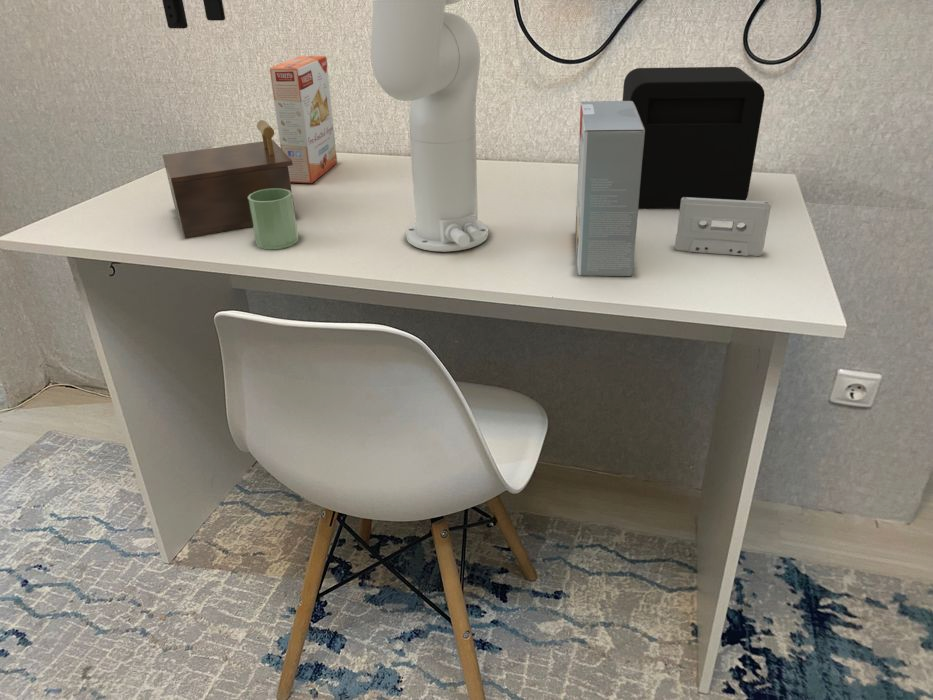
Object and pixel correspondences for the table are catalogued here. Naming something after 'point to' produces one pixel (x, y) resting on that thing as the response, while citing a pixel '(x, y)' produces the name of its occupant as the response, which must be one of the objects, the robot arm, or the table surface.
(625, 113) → the hard drive box
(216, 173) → the chest lid
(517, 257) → the table surface
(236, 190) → the chest
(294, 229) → the cup
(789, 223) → the table surface
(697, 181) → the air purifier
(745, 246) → the cassette
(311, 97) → the cracker box
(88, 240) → the table surface
